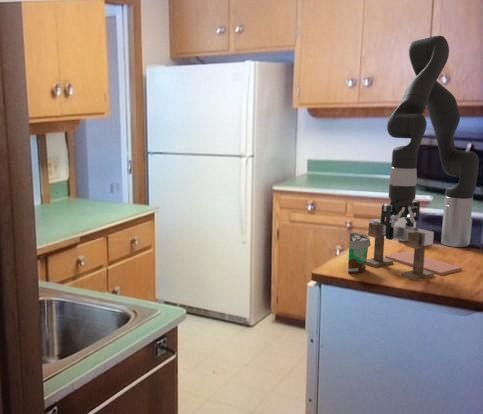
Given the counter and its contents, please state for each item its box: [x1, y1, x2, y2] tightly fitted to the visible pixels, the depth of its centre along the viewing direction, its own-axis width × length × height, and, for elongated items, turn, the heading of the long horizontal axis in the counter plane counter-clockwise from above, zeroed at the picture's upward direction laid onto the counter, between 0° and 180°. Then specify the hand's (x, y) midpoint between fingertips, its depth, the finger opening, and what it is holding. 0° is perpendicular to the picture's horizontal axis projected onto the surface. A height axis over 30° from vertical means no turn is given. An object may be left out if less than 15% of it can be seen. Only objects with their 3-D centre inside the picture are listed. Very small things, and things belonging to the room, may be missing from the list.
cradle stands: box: [366, 222, 435, 282], centre depth 161 cm, size 8×20×13 cm, turn 34°
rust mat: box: [384, 251, 463, 276], centre depth 169 cm, size 10×21×1 cm, turn 34°
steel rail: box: [368, 218, 435, 246], centre depth 160 cm, size 4×21×4 cm, turn 34°
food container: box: [347, 232, 371, 275], centre depth 161 cm, size 12×6×10 cm, turn 168°
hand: (399, 237), depth 161 cm, fingers open, 8 cm apart
